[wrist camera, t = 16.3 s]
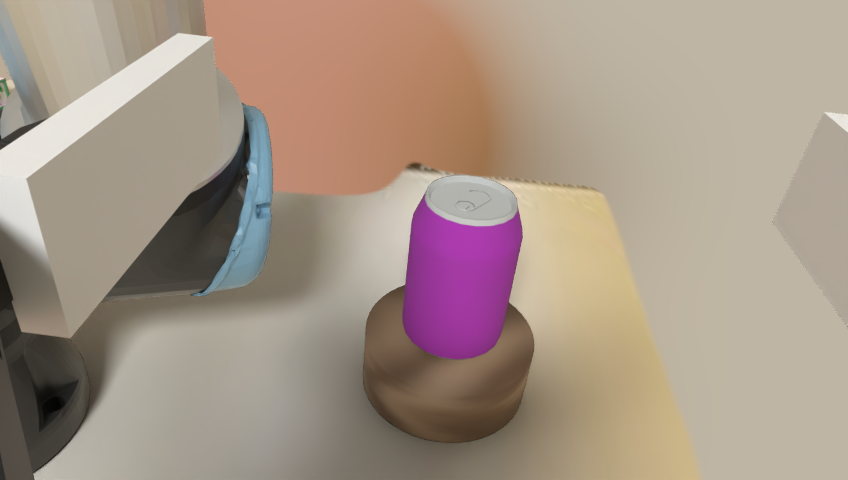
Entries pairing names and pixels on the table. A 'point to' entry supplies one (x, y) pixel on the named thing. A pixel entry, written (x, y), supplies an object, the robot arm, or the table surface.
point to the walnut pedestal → (443, 378)
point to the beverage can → (461, 266)
